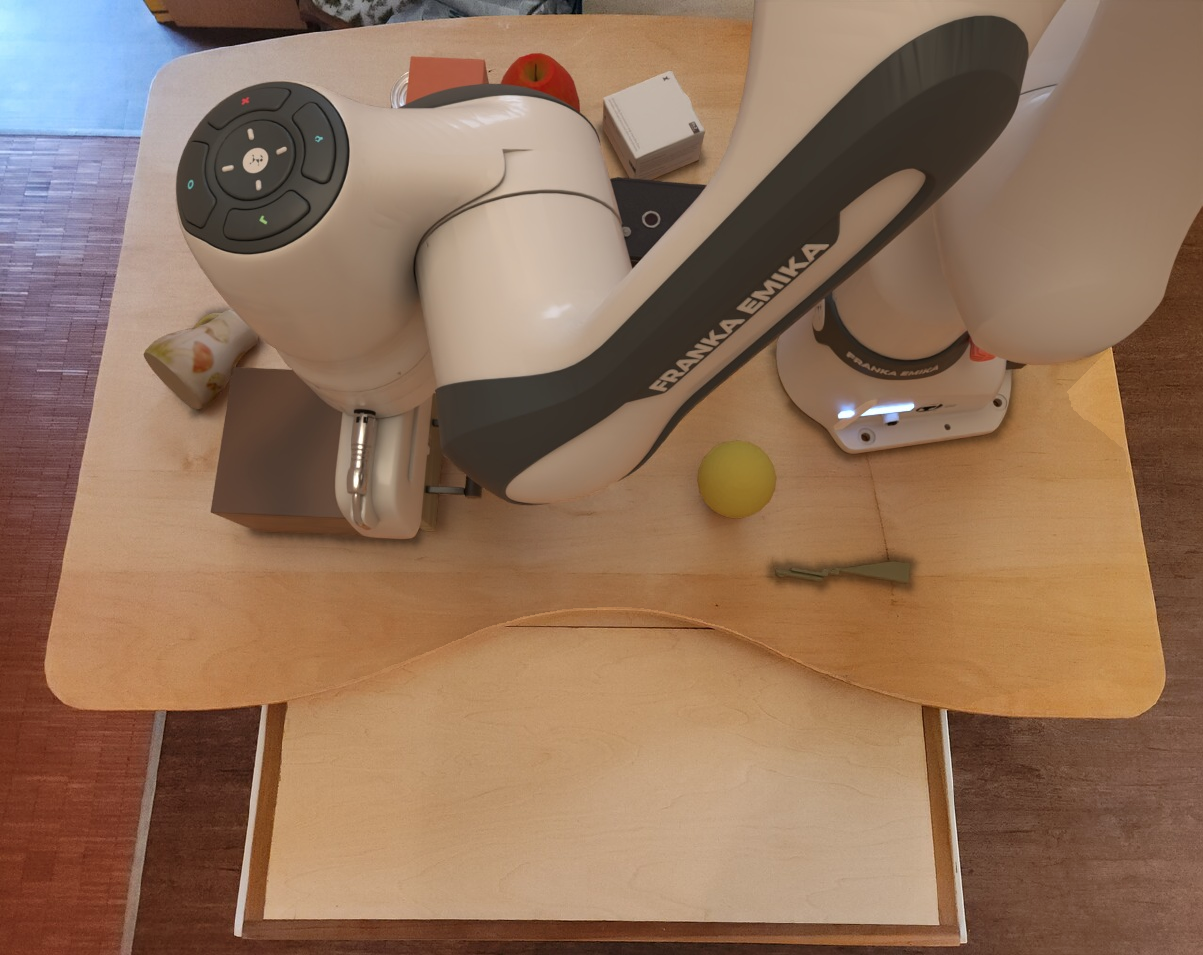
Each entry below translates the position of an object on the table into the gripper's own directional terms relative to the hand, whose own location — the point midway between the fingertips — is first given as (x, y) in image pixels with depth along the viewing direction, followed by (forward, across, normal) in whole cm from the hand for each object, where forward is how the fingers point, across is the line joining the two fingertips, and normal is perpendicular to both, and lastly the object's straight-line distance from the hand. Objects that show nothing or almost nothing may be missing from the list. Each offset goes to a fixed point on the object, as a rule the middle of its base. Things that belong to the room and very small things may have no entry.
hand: (422, 410), depth 59 cm
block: (-9, +16, -3) cm, 18 cm away
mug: (+19, +10, +24) cm, 33 cm away
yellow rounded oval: (+19, -1, -25) cm, 31 cm away
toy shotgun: (+20, -8, -35) cm, 41 cm away
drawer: (+18, 0, +6) cm, 19 cm away
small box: (+19, +36, -17) cm, 44 cm away
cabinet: (+19, 0, +11) cm, 22 cm away
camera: (+19, +21, -19) cm, 34 cm away
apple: (+19, +36, -5) cm, 41 cm away
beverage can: (+19, +29, +3) cm, 35 cm away
